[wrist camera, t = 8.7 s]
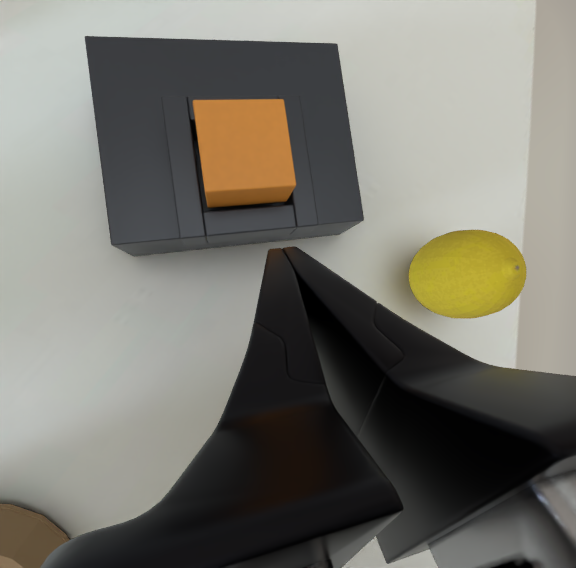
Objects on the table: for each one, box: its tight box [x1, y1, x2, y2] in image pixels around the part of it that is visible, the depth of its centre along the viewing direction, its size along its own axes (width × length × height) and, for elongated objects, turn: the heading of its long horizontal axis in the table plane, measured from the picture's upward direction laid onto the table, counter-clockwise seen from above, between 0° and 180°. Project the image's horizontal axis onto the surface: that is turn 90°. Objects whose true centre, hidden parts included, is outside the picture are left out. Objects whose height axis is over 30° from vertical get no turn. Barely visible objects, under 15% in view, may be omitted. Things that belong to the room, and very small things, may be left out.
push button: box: [85, 36, 364, 256], centre depth 18 cm, size 12×14×6 cm
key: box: [193, 99, 296, 208], centre depth 15 cm, size 4×4×2 cm
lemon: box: [409, 230, 526, 318], centre depth 20 cm, size 6×6×8 cm
